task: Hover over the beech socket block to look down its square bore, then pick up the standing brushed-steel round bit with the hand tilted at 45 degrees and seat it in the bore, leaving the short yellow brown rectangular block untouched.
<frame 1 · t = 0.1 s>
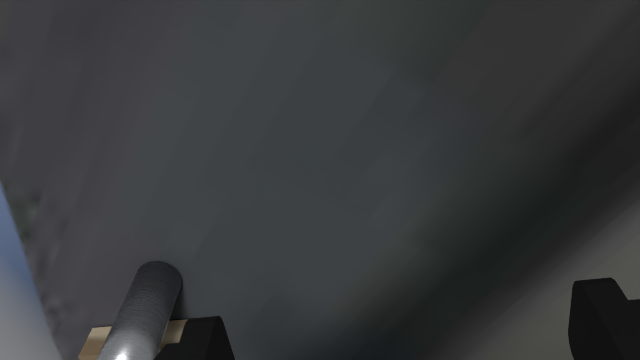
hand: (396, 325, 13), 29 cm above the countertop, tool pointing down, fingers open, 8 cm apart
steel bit: (159, 279, 50), on the countertop
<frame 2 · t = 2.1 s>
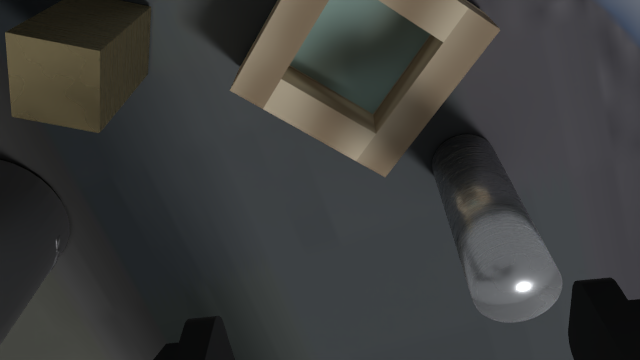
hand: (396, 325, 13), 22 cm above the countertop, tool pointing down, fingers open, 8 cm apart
yellow brown rectangular block: (114, 34, 32), on the countertop
socket block: (358, 41, 32), on the countertop
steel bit: (463, 162, 36), on the countertop
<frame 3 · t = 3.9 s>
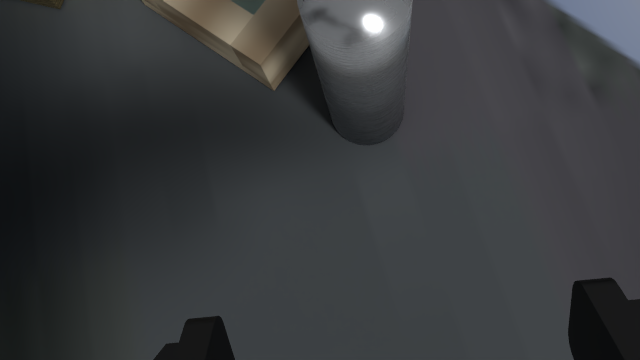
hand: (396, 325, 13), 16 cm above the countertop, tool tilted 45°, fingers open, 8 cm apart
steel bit: (366, 110, 31), on the countertop
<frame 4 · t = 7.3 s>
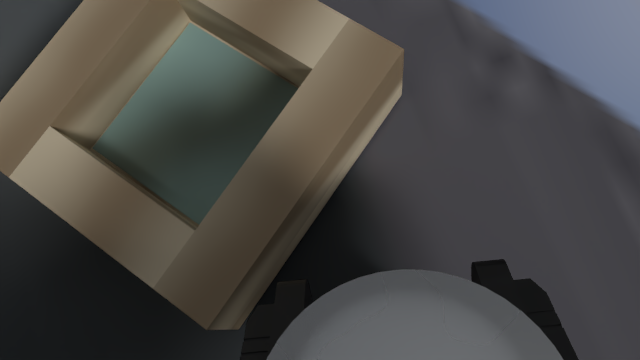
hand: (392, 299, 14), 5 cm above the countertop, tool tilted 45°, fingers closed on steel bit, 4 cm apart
socket block: (212, 134, 21), on the countertop
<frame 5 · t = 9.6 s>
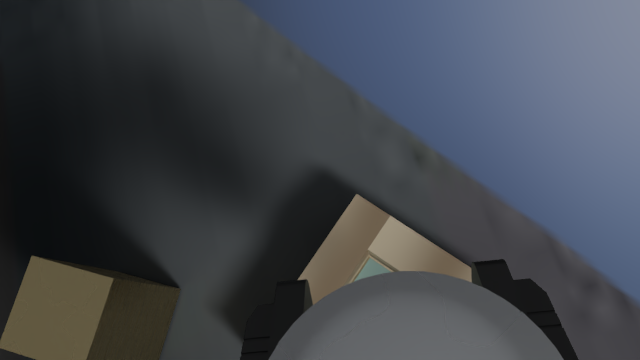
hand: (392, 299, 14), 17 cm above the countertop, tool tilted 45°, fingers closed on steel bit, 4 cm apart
yellow brown rectangular block: (137, 315, 32), on the countertop
socket block: (386, 336, 30), on the countertop
when the fingers open (8 cm above the countertop, at t = 12.2 s): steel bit drops 2 cm, resting on socket block.
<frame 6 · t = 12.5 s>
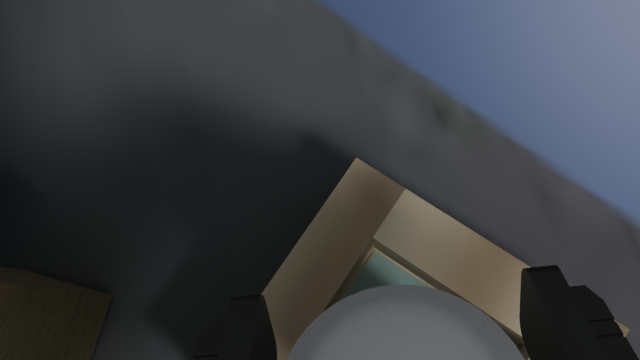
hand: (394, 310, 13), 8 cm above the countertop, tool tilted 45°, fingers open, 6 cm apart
yellow brown rectangular block: (51, 331, 23), on the countertop
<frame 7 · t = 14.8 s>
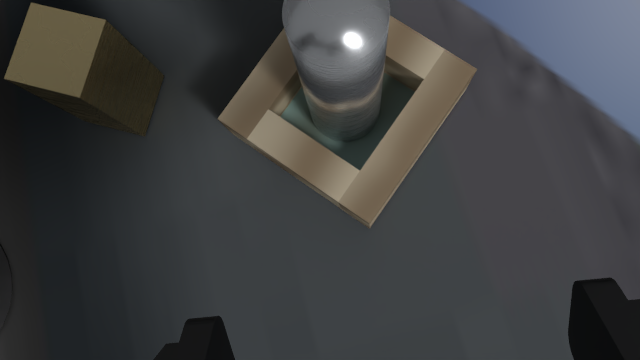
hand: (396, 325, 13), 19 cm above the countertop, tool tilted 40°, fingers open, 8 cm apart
yellow brown rectangular block: (124, 98, 35), on the countertop
socket block: (347, 112, 34), on the countertop
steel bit: (345, 108, 33), point 1 cm above the countertop, touching socket block
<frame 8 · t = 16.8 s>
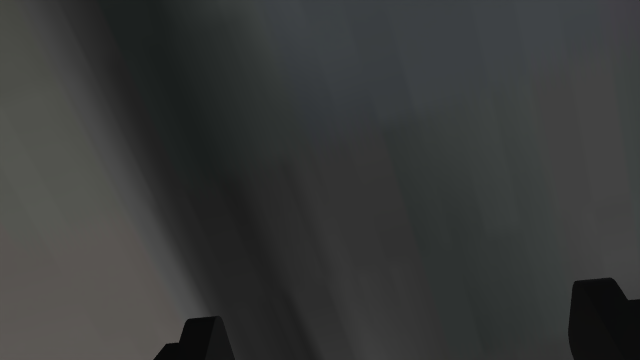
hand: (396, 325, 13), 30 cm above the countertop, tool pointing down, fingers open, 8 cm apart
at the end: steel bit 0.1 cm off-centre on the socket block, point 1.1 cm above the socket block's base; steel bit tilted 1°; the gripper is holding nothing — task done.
